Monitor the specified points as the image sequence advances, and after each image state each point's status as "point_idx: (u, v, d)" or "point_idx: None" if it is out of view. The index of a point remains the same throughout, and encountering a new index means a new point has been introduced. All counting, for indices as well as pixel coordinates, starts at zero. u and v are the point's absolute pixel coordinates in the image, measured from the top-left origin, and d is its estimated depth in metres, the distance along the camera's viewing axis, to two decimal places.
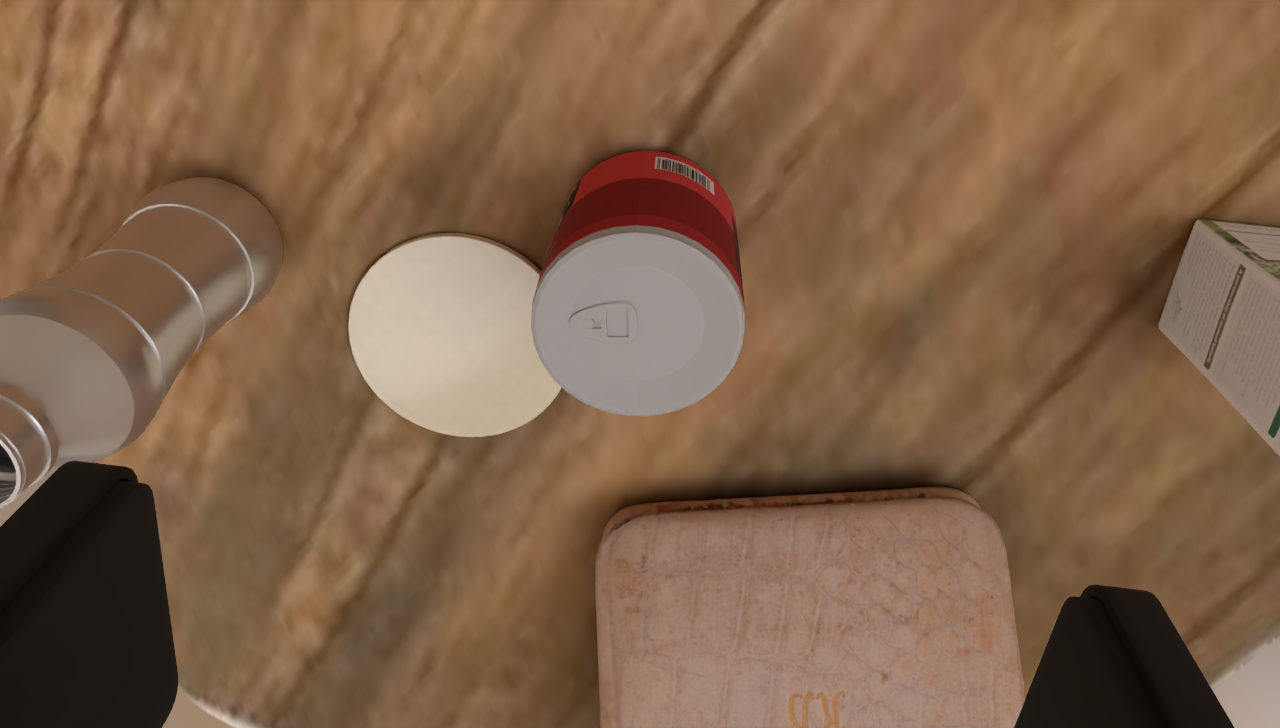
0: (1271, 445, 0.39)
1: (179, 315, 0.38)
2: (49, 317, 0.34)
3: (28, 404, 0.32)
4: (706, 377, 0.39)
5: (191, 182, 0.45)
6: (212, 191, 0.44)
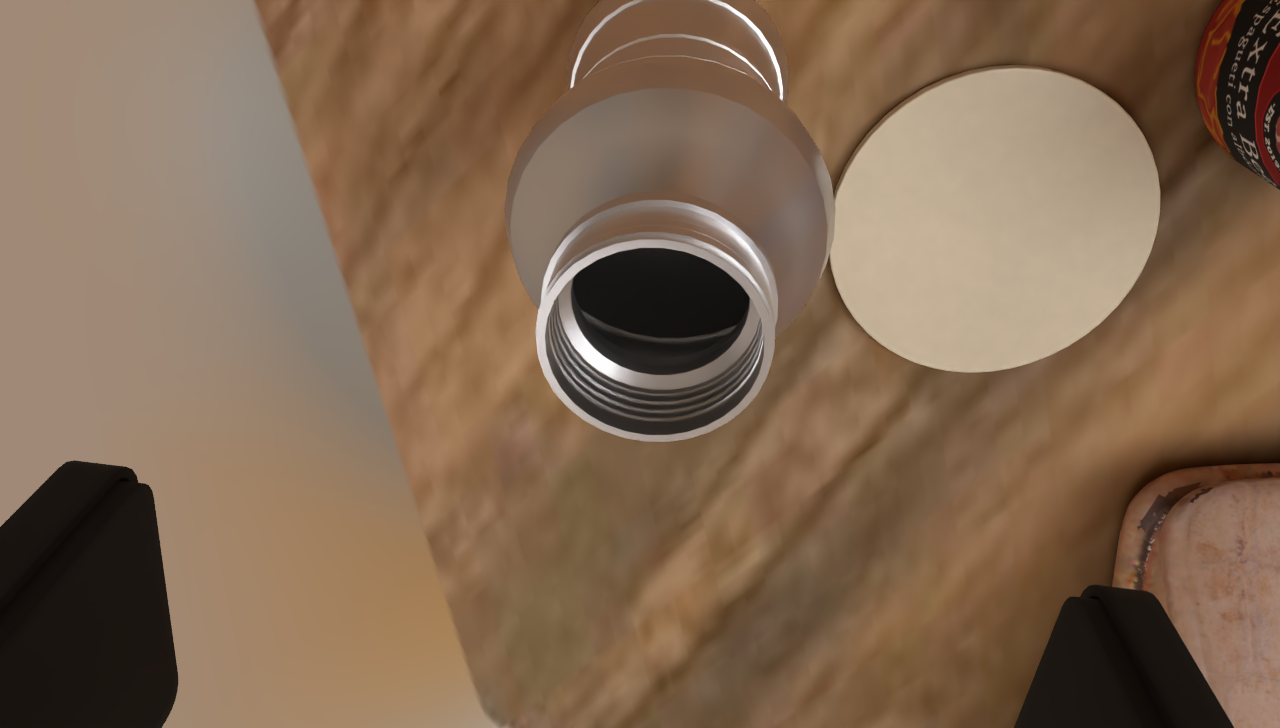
0: None
1: None
2: (714, 95, 0.18)
3: (753, 236, 0.16)
4: None
5: None
6: None
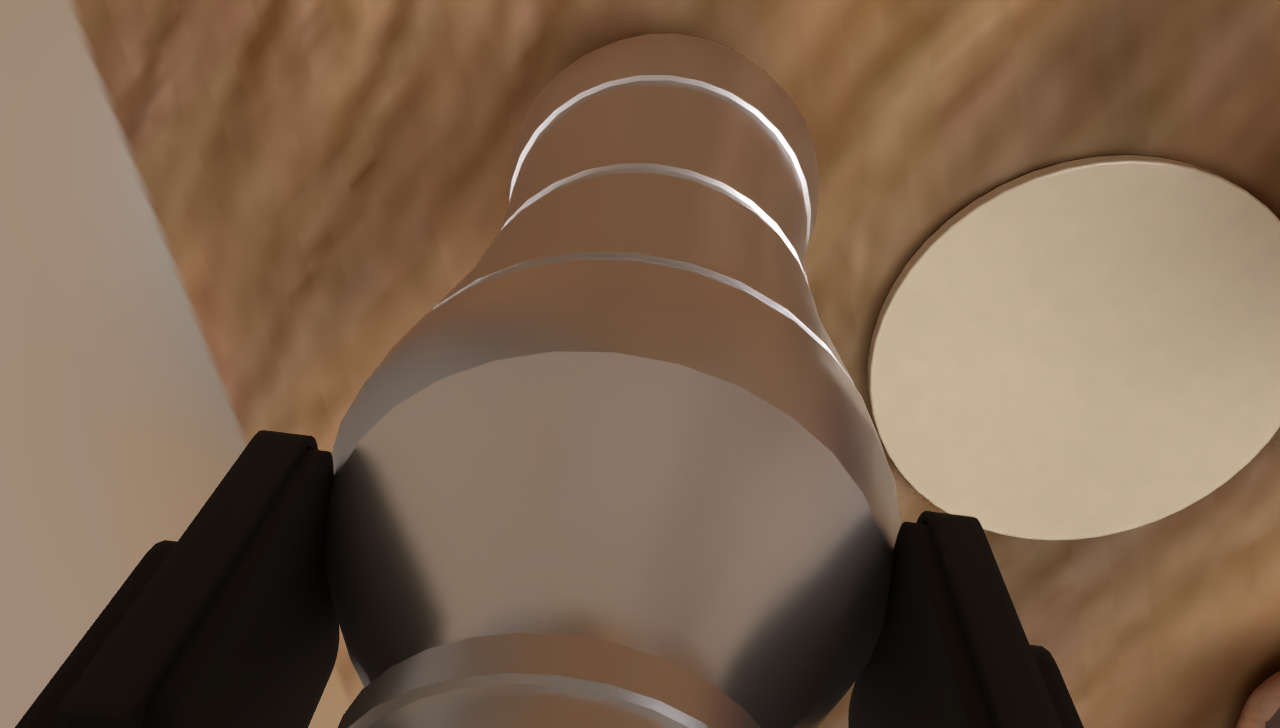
0: None
1: None
2: (680, 361, 0.10)
3: (744, 727, 0.08)
4: None
5: (672, 37, 0.21)
6: (722, 55, 0.20)
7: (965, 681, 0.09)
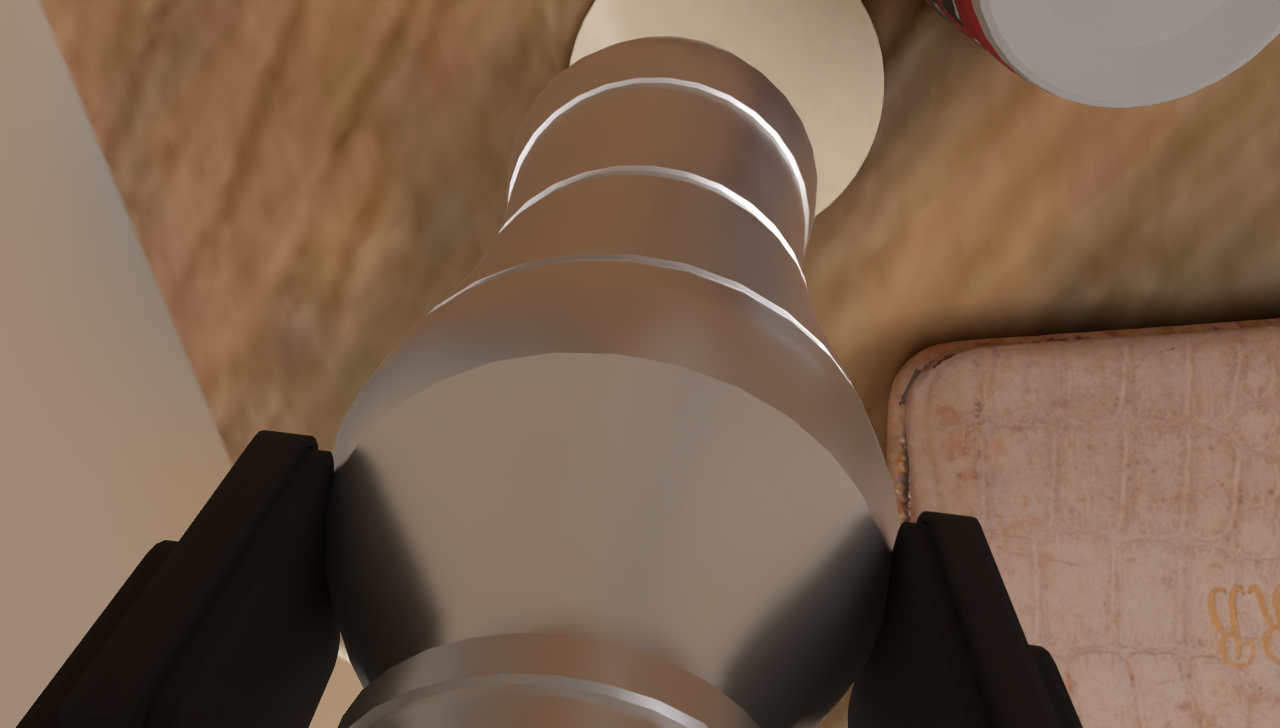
0: None
1: None
2: (679, 361, 0.10)
3: (743, 727, 0.08)
4: (1246, 33, 0.24)
5: (670, 39, 0.21)
6: (720, 58, 0.20)
7: (964, 680, 0.09)
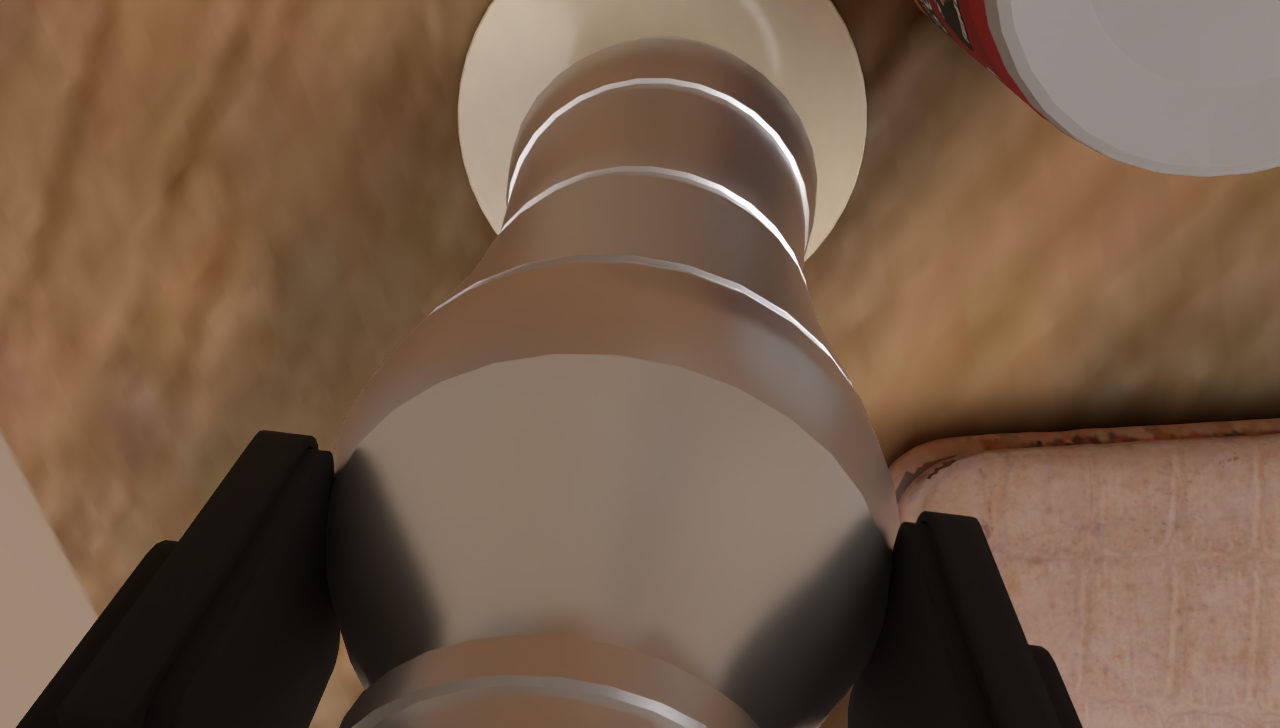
0: None
1: None
2: (680, 362, 0.10)
3: None
4: None
5: (670, 40, 0.21)
6: (720, 58, 0.20)
7: (964, 680, 0.09)
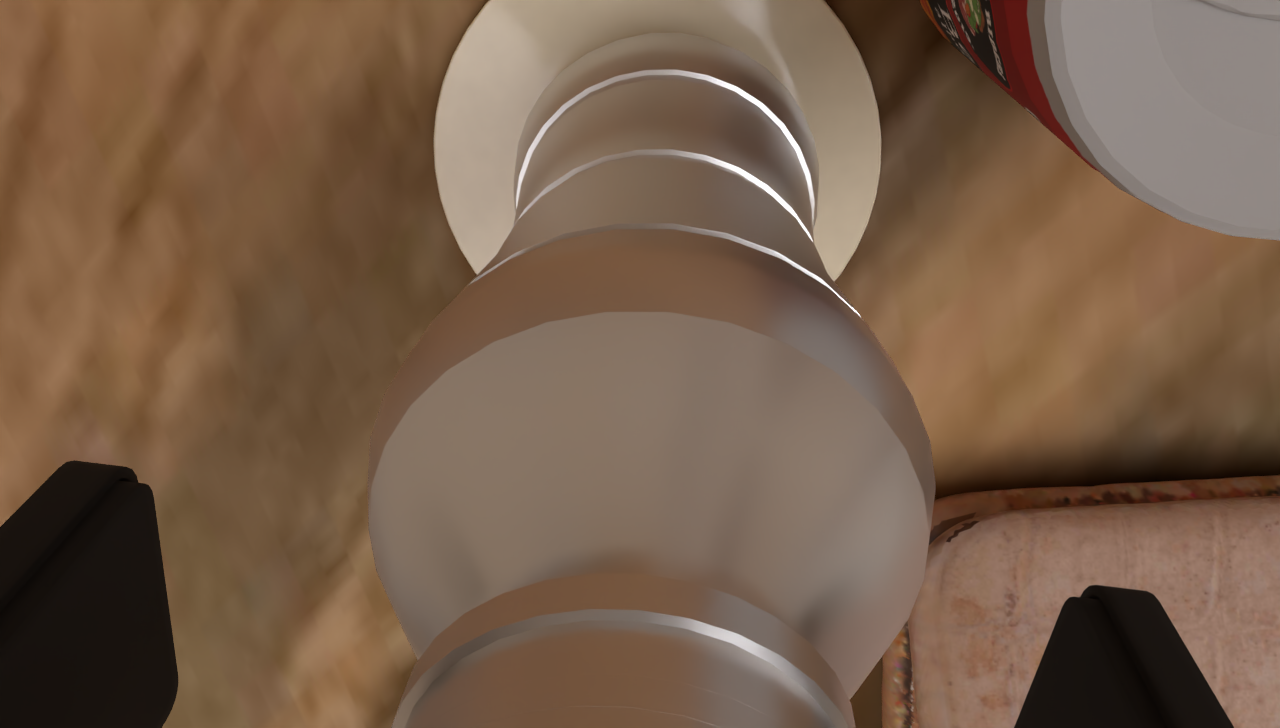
0: None
1: None
2: (729, 321, 0.10)
3: (815, 662, 0.08)
4: None
5: (674, 34, 0.21)
6: (725, 52, 0.21)
7: None
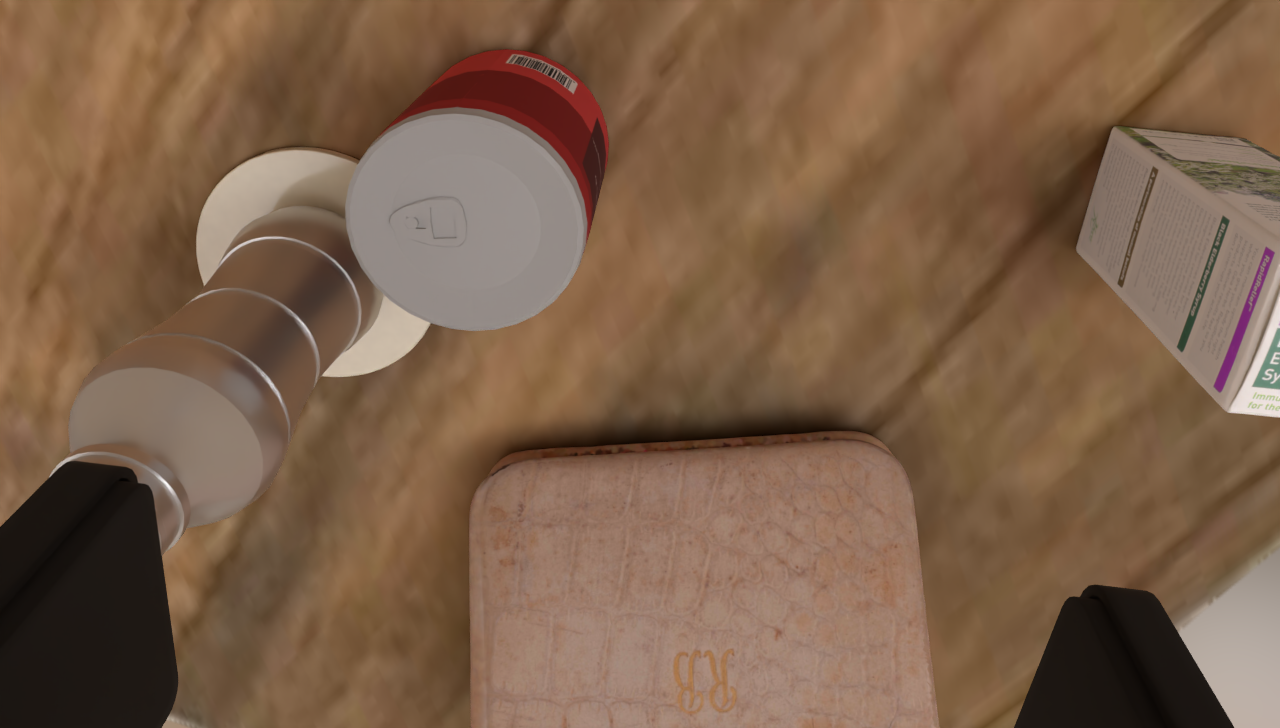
0: (1180, 360, 0.34)
1: (299, 360, 0.36)
2: (176, 370, 0.31)
3: (161, 468, 0.29)
4: (546, 285, 0.34)
5: (294, 212, 0.42)
6: (317, 222, 0.42)
7: None
